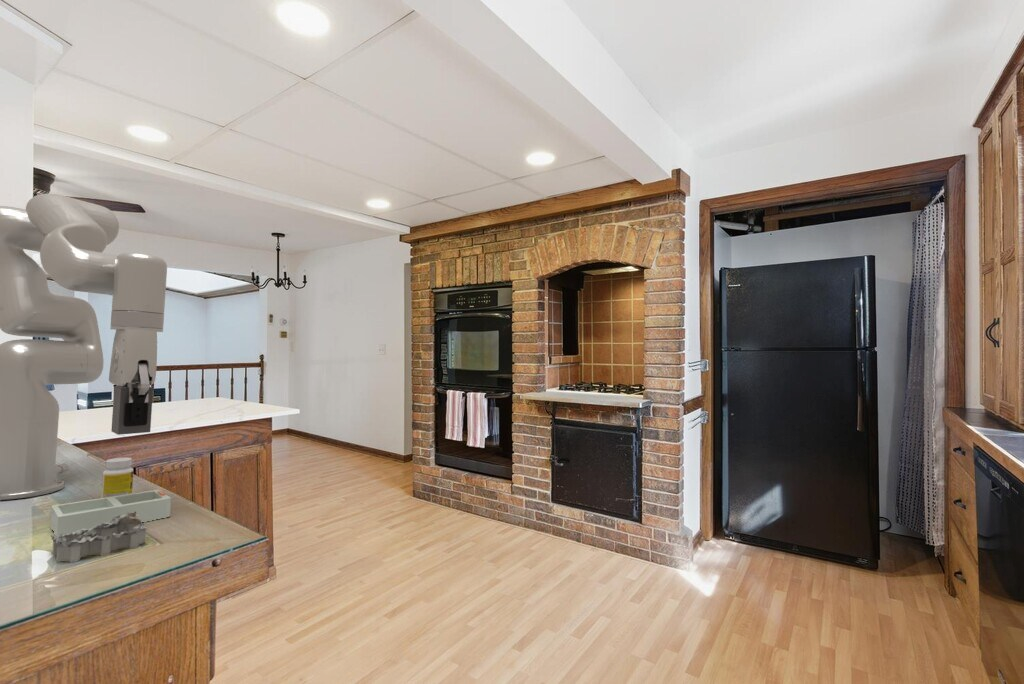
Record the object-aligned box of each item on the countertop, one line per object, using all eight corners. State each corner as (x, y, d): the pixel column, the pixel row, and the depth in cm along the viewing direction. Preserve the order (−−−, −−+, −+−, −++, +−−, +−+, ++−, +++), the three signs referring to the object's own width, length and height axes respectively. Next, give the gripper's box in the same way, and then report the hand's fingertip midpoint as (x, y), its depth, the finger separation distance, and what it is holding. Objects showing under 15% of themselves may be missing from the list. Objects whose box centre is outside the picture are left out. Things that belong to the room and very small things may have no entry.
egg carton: (138, 535, 79) (140, 509, 79) (148, 547, 74) (150, 521, 74) (49, 552, 71) (51, 524, 71) (54, 568, 66) (56, 538, 66)
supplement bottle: (135, 501, 95) (138, 459, 95) (105, 507, 91) (108, 463, 91) (126, 497, 98) (128, 456, 98) (96, 502, 94) (99, 459, 94)
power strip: (56, 539, 75) (58, 515, 75) (49, 526, 80) (51, 503, 81) (169, 517, 87) (171, 496, 87) (157, 507, 92) (158, 487, 92)
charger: (117, 434, 82) (121, 387, 83) (111, 431, 85) (114, 385, 86) (150, 432, 86) (153, 386, 86) (142, 429, 89) (145, 384, 89)
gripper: (100, 321, 89) (93, 420, 88) (124, 320, 78) (116, 431, 77) (149, 325, 95) (143, 417, 94) (177, 323, 84) (171, 427, 83)
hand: (131, 422), depth 86 cm, fingers closed on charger, 4 cm apart
